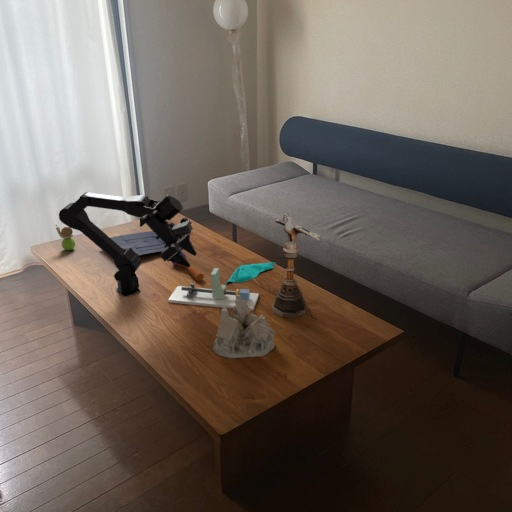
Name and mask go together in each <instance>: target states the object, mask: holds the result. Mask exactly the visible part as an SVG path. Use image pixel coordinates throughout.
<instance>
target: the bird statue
mask: <svg viewBox="0 0 512 512" xmlns="http://www.w3.org/2000/svg"><path fill="white" fill-rule="evenodd" d="M280 218H281V219H275V220H274V222H275V223H277V224H280V225H281V226H282V227H283V231H284V233H286V234H287V238H288V240H287V241H286V242H285V244H284V246H283V247H282V251H283V257H284V258H286V260H287V261H286V268H285V270H286V278H285V279H284V280H283V283H282V285H281V287H280V288H279V290H278V291H277V295H276V297H275V298H274V300H273V301H272V306H271V307H272V309H271V310H272V311H271V312H273V313H275V314H277V315H278V316H279V317H281V318H291V319H292V318H293V319H296V318H298V317H301V316H302V315H305V314H306V312H307V311H306V310H307V301H306V300H305V298H304V296H303V291H302V289H300V287H299V285H298V284H297V283H298V281H297V279H295V278H294V272H295V269H296V268H295V266H294V263H295V258H297V257H298V252H299V247H298V246H297V243H296V242H297V239H298V235H299V234H302V235H305V236H307V237H311V238H313V239H314V240H317V242H319V243H322V242H321V241H322V240H321V234H317V233H314V232H312V231H309V230H307V228H305V227H302V226H300V225H294V224H293V223H292V222H293V219H292V216H291V215H290V214H289V213H283V214H282V216H281V217H280ZM285 219H286V220H285Z"/></svg>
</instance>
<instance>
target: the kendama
mask: <svg viewBox="0 0 512 512" xmlns="http://www.w3.org/2000/svg"><path fill="white" fill-rule="evenodd" d="M182 254H183V256H184V257H185V258H186V259H187V257H186V254H185V253H184V252H183V251H182ZM171 263H172V264H173V265H174V266H177V267H180V268H181V267H182V268H186V269H187V270H188V271H189V273H190V274H191V275H192V277H193V278H194V279H195V280H196V281H197V282H200V281H203V280H204V277H205V275H204V274H203V273H202V272H201V271H198V269H195V268H193V266H192V265H191V266H190V267H186V266H183V265H180V264H178V263H174V262H171Z"/></svg>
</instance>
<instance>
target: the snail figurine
mask: <svg viewBox="0 0 512 512" xmlns="http://www.w3.org/2000/svg"><path fill="white" fill-rule="evenodd" d="M55 229H56V232H57V234H58V235H59V237H60V238H62V241H61V247H62V248H63V250H66V251H71V250H73V249H74V248H75V247H76V242H75V239H74V238H73V237H74V234H73V229H72V228H70V227H68V226H65V227H62V229H61V228H60V227H58V226H57V224H55Z"/></svg>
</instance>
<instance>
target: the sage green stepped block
mask: <svg viewBox="0 0 512 512" xmlns="http://www.w3.org/2000/svg"><path fill="white" fill-rule="evenodd" d="M220 282H221V281H220V268H218V267H214V268H213V269H212V271H211V273H210V285H211V286H210V287H211V288H210V289H211V290H212V297H213V298H218V299H224V295H226V294H224V291H227V284H220Z"/></svg>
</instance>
